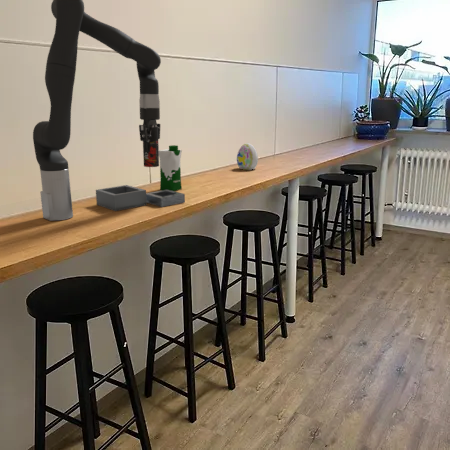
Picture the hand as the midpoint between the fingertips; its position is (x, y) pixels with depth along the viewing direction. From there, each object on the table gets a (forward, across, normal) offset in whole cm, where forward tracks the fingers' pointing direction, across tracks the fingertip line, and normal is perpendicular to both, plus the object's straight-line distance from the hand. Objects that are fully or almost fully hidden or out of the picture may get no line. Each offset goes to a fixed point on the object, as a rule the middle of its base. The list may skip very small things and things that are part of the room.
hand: (150, 151), depth 175 cm
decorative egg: (+19, -94, +16) cm, 97 cm away
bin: (+21, +6, -10) cm, 24 cm away
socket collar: (+21, -4, +4) cm, 21 cm away
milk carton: (+20, -27, -4) cm, 34 cm away
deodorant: (+6, 0, 0) cm, 6 cm away
